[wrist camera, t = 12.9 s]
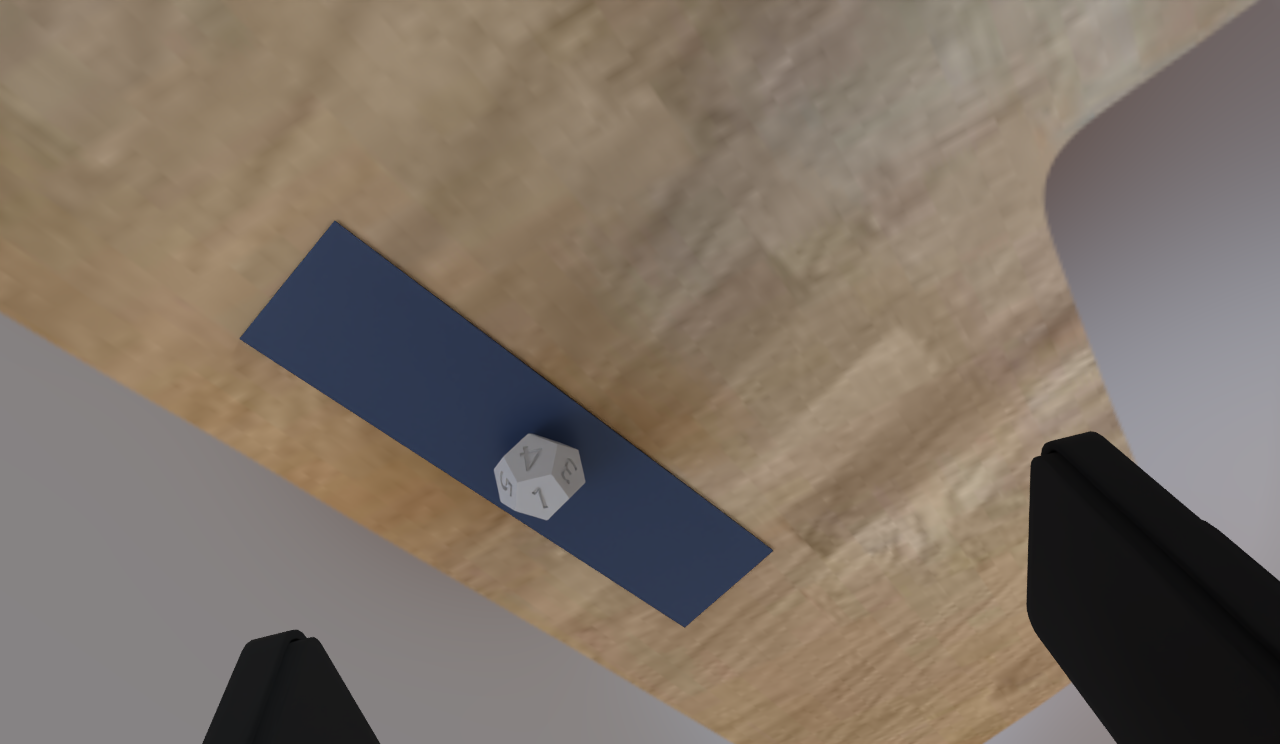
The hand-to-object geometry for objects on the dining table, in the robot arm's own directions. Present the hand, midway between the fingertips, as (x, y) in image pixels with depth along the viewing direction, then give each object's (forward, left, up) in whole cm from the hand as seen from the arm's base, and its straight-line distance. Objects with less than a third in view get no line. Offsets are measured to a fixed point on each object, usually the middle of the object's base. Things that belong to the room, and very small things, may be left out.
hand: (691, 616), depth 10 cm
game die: (+4, +10, -21) cm, 24 cm away
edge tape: (+5, +10, -21) cm, 24 cm away
